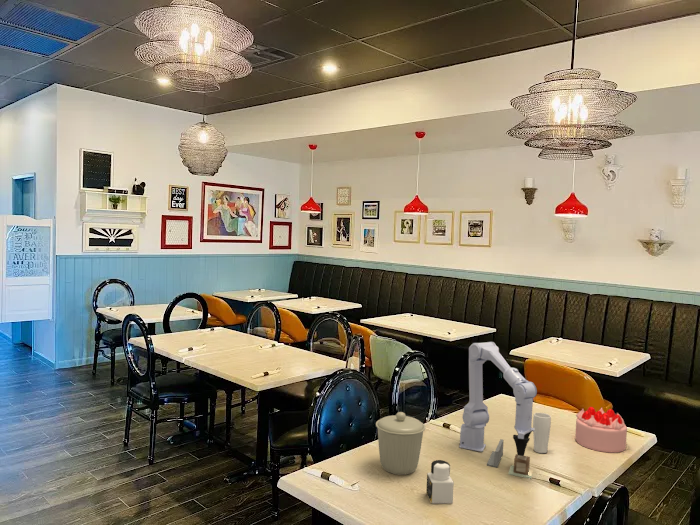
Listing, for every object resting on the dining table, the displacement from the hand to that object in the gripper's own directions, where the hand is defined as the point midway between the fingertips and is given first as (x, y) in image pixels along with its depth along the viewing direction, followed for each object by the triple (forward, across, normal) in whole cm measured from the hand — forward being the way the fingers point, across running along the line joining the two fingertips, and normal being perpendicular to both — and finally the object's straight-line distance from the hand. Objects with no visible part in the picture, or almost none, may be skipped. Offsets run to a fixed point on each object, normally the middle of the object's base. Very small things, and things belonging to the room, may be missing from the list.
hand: (521, 451), depth 196 cm
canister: (+8, -19, +41) cm, 46 cm away
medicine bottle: (+8, -34, +22) cm, 41 cm away
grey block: (+8, +7, +10) cm, 15 cm away
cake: (+8, +46, -28) cm, 55 cm away
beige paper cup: (+8, +25, -5) cm, 27 cm away
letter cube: (+7, 0, 0) cm, 7 cm away
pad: (+8, 0, 0) cm, 8 cm away
